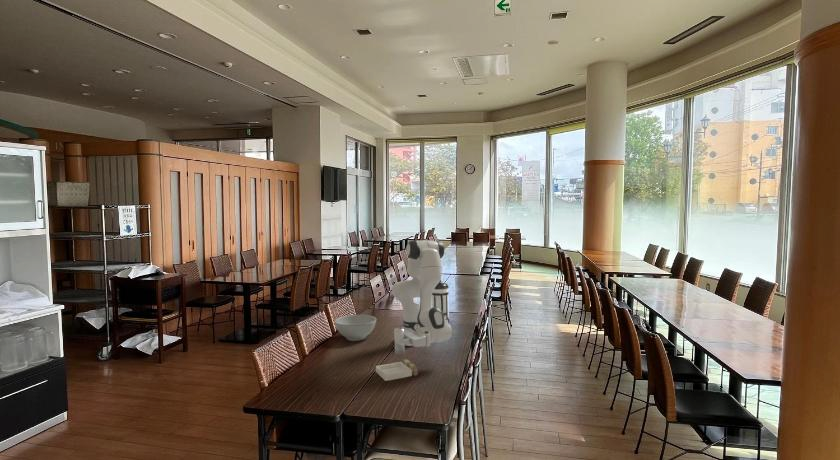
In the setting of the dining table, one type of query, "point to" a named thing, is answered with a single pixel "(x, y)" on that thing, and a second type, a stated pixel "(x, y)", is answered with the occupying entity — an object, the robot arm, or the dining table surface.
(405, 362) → the tan wavy block
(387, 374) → the tray
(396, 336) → the steel canister
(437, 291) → the coffee press
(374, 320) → the decorative bowl
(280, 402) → the dining table surface
